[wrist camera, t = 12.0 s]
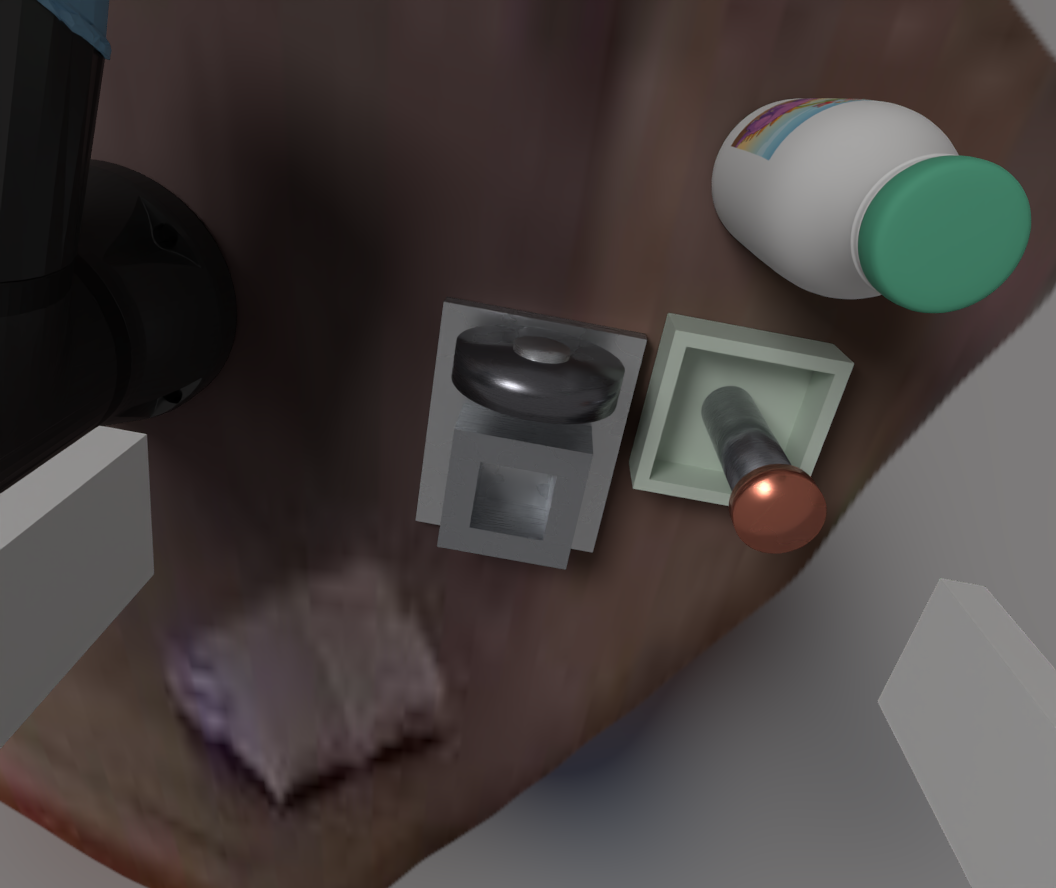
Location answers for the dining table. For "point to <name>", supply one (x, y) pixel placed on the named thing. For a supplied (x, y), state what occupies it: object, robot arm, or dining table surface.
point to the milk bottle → (869, 204)
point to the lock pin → (761, 476)
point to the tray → (743, 361)
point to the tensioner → (524, 430)
